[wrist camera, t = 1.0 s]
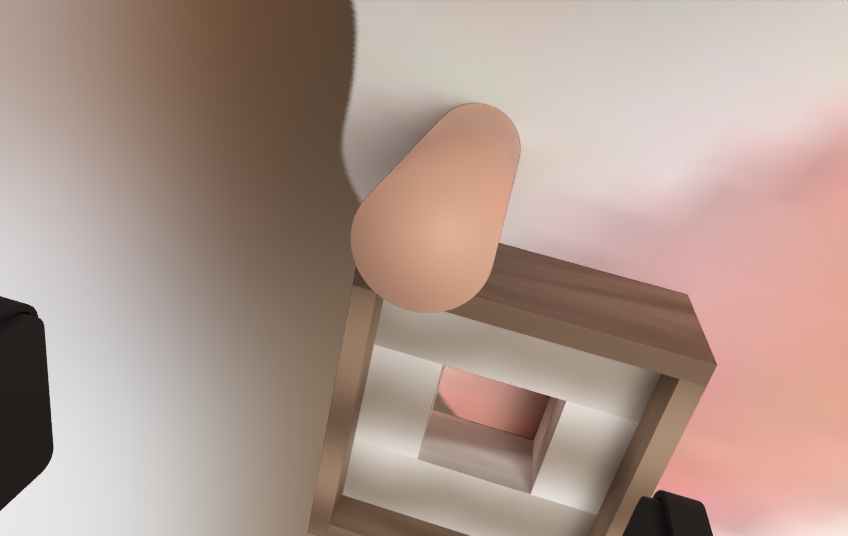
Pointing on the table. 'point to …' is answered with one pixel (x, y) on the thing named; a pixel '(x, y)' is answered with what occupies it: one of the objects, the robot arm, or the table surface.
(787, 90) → the table surface
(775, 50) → the table surface
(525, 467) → the bore box
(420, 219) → the peg
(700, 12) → the table surface
